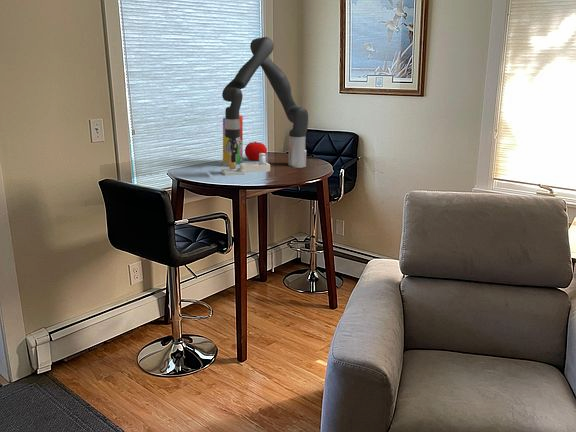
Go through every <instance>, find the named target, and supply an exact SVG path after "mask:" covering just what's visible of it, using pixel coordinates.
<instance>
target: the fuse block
mask: <svg viewBox="0 0 576 432" xmlns="http://www.w3.org/2000/svg"><path fill="white" fill-rule="evenodd" d="M239 168H240V169H242V170H243V171H244V173H262V172H263V173H264V172H267V173H268V172H271V164H270V163H268V162H267V161H265V165H259V162H245V163H244V162H242V163H240V164H239Z"/></svg>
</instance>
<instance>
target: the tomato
mask: <svg viewBox="0 0 576 432" xmlns="http://www.w3.org/2000/svg"><path fill="white" fill-rule="evenodd" d="M259 153H265V157H266V156H267V153H268V148H267V146H266V145H265V144H264V143H263V142H258V141H254V142H253V141H252V142H248V143H247V144H246V146H245V148H244V155H245V157H246V159H248V160H251V161H254V160H257V161H259Z"/></svg>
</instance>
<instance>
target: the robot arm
mask: <svg viewBox="0 0 576 432" xmlns="http://www.w3.org/2000/svg"><path fill="white" fill-rule="evenodd" d="M274 45H275V44H274V41H273V40H272V38H270V37H267V36H264V37H262V36H261V37H258V38H254V39H252V41H250V45H249V46H250V47H249V48H250V51H251V53H252V56H251V57H250V58H249V60H248V61H246V62H245V64H243V66H242V67H240V69H239V70H238V71H237V73H236V75H235V76H234V78H233V79H232V80H231V81H230V82H229V83H227V84H226V85H225V87H224V88H223V90H222V94H221V96H222V100H223V101H225V102H228V103H229V102H230V105H229V106H227V107H226V108H225V115H224V116H225V117H224V118H225V137H226V138H229V140H228V141H227V143H228V152H229V153H231V162H236V154H237V149H238V144H237V141H236V138H239V137H240V121H239V115H240V110H241V108H242V107H241V105H242V101H243V91H242V89H245V88H246V87H247V85H248V84H249V82H250V81H251V79H252V78H253V76H254V74H255V73H256V72H257V70H258V69H259V68H260V67H261V69H262V71H263V72H264V74H265V77H266V78H267V80H268V81H269V84H270V85H271V87H272V90H273V91H274V93H275V94H276V96H277V98H278V101H279V102H280V103H281V106H282V107H283V110H284V113H285V115H286V117H287V119H288V122H290V123H292V129H290V130H289V133H288V164H287V165H288V166H290V167H293V168H295V169H301V168H307V149H306V139H307V137H306V136H307V135H306V134H307V131H308V126H309V113H308V111H307V109H306V108H305V107H302V106H300V107H299V106H298V105H297V104H296V102H295V101H294V98H293V95H292V89H291V88H292V87H291V84H290V81H289V78H288V77H287V75H286V74H285V73H286V72H284V71H283V70H282V69H281V68H280V67H279V66H278V65H277V64H275V62H273V60H272V59H271V57H270V55H271V54H272V53H273V50H274ZM234 151H235V152H234Z"/></svg>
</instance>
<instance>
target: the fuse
mask: <svg viewBox="0 0 576 432" xmlns="http://www.w3.org/2000/svg"><path fill="white" fill-rule="evenodd" d="M265 162H266V156H265V153H259V160H258V163H259V165H265Z"/></svg>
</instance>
